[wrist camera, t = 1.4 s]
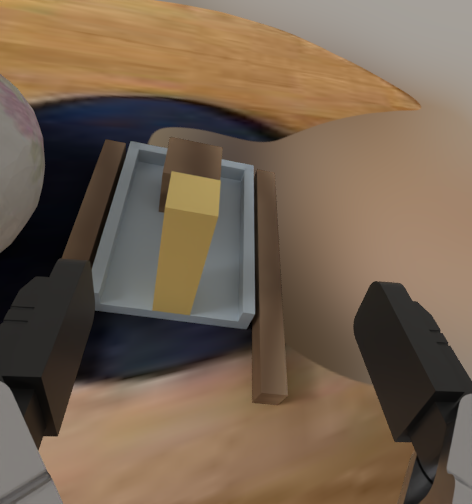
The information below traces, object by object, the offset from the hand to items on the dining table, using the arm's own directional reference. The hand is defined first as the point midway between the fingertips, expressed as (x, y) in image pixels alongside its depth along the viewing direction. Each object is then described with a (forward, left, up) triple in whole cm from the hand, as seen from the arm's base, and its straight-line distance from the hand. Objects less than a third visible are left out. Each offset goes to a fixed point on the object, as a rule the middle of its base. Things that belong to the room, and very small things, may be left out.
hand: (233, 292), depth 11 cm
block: (-1, +22, -19) cm, 29 cm away
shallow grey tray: (-1, +18, -20) cm, 27 cm away
